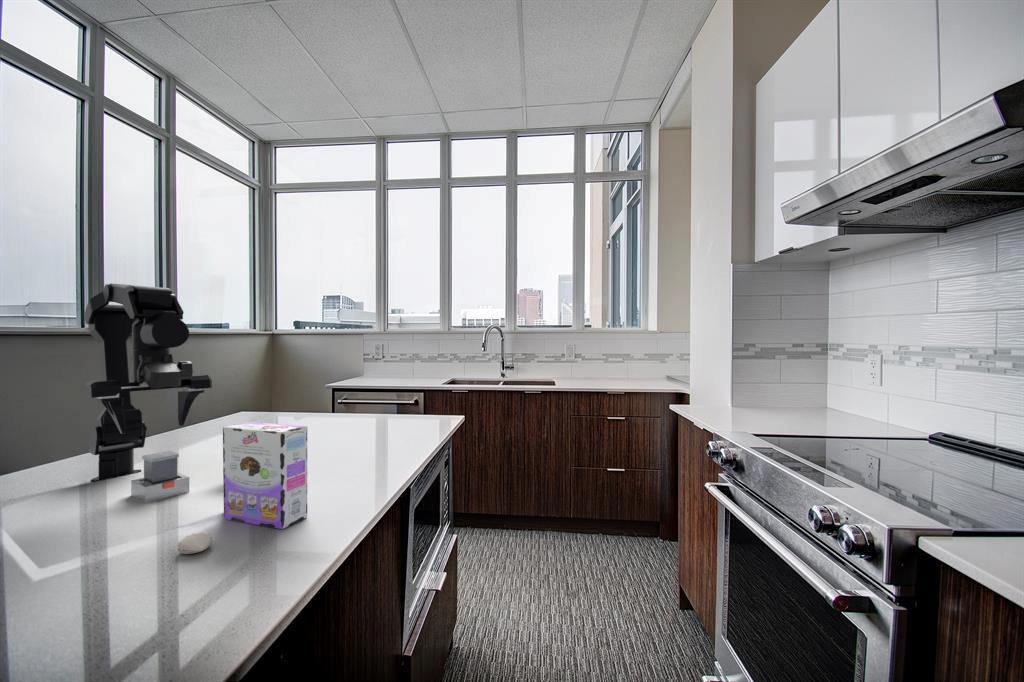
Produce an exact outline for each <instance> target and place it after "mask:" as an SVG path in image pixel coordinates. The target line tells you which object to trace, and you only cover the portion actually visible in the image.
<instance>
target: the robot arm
mask: <svg viewBox="0 0 1024 682" xmlns="http://www.w3.org/2000/svg"><path fill="white" fill-rule="evenodd" d="M172 290H173V289H171V288H169V287H156V286H144V285H134V284H133V285H131V284H124V283H123V284H121V283H109V284H107V283H106V284H104V288H103V290H102V291H101V292H99V293H98V294H96V295H94V296H93V297H90V298H89V299H88V302H87V305H86V307H85V310H84V321H85V324H86V325H88V332H89V334H90V335H91V336H92V338H94V339H95V341H96V342H97V343H99V350H100V351H99V352H100V363H101V364H100V365H101V366H100V367H101V379H102V380H94V381H93V380H92V381H88V382H86V383H85V384H84V385H83V397H84V398H91V399H92V398H93V401H94V402H101V404H102V405H103V409H102V410H101V411H100V413H99V414H98V416H97V417H96V419H95V420H94V423H95V424H94V426H93V428H92V429H91V433H90V437H89V440H88V443H87V444H88V445H87V446H88V452H89V453H90V454H91V455H92V456H98V466H97V467H98V468H97V469H98V476H96V477H94V478H91V479H90V483H94V482H99V481H106V480H110V479H116V478H120V477H125V476H129V475H134V474H139V472H140V473H142V469H135V468H134V466H135V460H134V459H135V458H134V457H135V456H134V455H135V454H134V453H135V452H134V450H135V449H139V448H142V449H143V448H144V447H145V444H146V443H145V441H146V434H147V431H148V427H147V426H146V423H145V421H143V415H142V410H140V409H139V408H136V407H135V406H134V405H133V404H132V400H131V399H132V398H131V392H140V391H141V392H142V391H155V390H157V391H158V390H168V389H181V390H179V391H178V390H177V418H178V419H177V420H178V425H179V427H182V426H183V427H184V424H185V422H186V420H187V417H188V415H189V412H190V409H191V406H192V405H193V403H194V401H195V400H196V398H197V397H198V396H199V395H200V394H204V393H205V389H212V387H213V381H212V377H211V376H209V375H208V374H200V375H199V374H198V375H195V374H193V372H194V371H193V370H194V369H193V362H192V361H190V360H182V361H181V360H180V361H178V362H177V363H174V361H173V360H174V359H173V358H174V357H173V354H172V353H171V348H179V347H180V346H182V345H184V344H185V343H186V342H187V341H188V339H189V336H190V331H189V330H190V329H189V327H188V325H187V324H186V323H185V322H184V321H183V319H184V313H185V311H184V310H183V308H182V306H181V304H180V302H179V300H178V299H177V296H176V295H175V294H174V293H173V291H172ZM110 303H115V304H110ZM116 303H117V304H116ZM130 336H131V340H132V342H131V346H132V347H131V348H132V349H131V350H132V351H131V352H132V355H131V356H130V357H131V358H130V360H131V362H132V376H131V382H130V374H129V373H130V372H129V360H128V357H129V356H128V346H127V345H128V343H127V341H128V339H129V338H130ZM144 383H146V384H144ZM141 384H142V385H141Z"/></svg>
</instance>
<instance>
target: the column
mask: <svg viewBox="0 0 1024 682" xmlns="http://www.w3.org/2000/svg"><path fill="white" fill-rule="evenodd" d="M179 457H180V453H177V452H174V451H172V450H171V451H170V450H165V451H160V452H155V453H150V454H146V455H145V454H144V455H142V456H141V459H142V460H143V478H144V481H141V482H143V483H145V484H147V485H152V484H157V483H161V482H165V481H170V480H174V479H178V478H177V472H178V458H179Z"/></svg>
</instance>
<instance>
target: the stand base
mask: <svg viewBox="0 0 1024 682" xmlns="http://www.w3.org/2000/svg"><path fill="white" fill-rule="evenodd" d="M177 478H178V479H174V480H170V481H165V482H161V483H157V484H152V485H147V484H145V483H143V482H141V481H144V477H142V478H141V477H140V478H136V479H132V480H130V481H131V485H130V487H131V488H130V489H131V490H130V493H131V494H130V495H131V497H133V498H135V499H137V500H139V501H140V502H143V503H144V504H148V503H152V502H155V501H160V500H163V499H167V498H171V497H175V496H178V495H182V494H187V493H190V477H189V476H188V475H185V474H183V473H180V472H178V471H177Z"/></svg>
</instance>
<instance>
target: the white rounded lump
mask: <svg viewBox="0 0 1024 682" xmlns="http://www.w3.org/2000/svg"><path fill="white" fill-rule="evenodd" d="M213 541H214V538H213V536H212V534H211V533H206V532H203V531H202V532H197V533H192V534H190V535H186V536H185V537H184V538H182V539H181V540H180V541H179V542H178V543H177V550H178V552H179V553H180V554H186V555H192V554H197V553H200V552H203V551H205V550H207V549H209V547H210V546H211V545H212V543H213Z"/></svg>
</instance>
